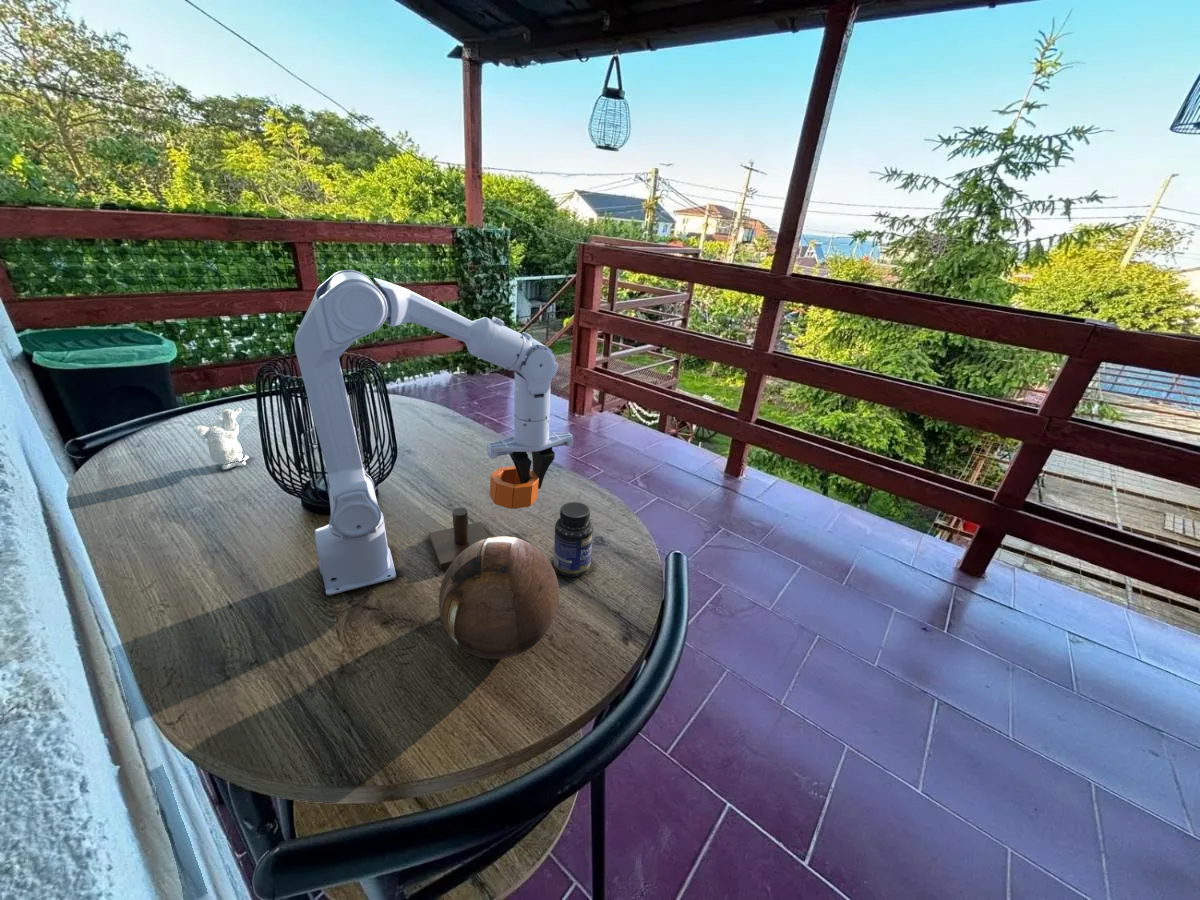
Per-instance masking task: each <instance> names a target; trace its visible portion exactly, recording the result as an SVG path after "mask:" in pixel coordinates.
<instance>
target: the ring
mask: <svg viewBox="0 0 1200 900" xmlns="http://www.w3.org/2000/svg"><path fill="white" fill-rule="evenodd" d="M538 484H539V477H538V476H537V475H536V474H535V473H534V471H533V469H530V472H529V481H528V482H527V483H523V484H520V479H519V475H518V472H517V469H516V467H515V465H511V466H502V467H498V468H497V469H496V470H494V471H492V473H491V474H490V481H489V497H490V499H491V500H492V502H493V504H494V505H496V506H499V507H503V508H507V509H510V510H512V509H513V510H516V509H517V510H518V509H523V508H529V507H531V506H533V504H534V503H535V502H536V501H537V499H538V493H539V489H538Z"/></svg>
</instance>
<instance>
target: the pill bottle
mask: <svg viewBox="0 0 1200 900" xmlns="http://www.w3.org/2000/svg"><path fill="white" fill-rule="evenodd" d="M590 518H591V509H590V507H589V505H587V504H585V503H582V502H578V501H569V502H566V503H564V504H562V505H561V507H560V509H559V518H558V519H557V520H556V522H555V525H554V542H553V544H554V545H553V546H554V547H553V568H554V570H555V571H557V572H558V573H559V574H560V575H562V576H565V577H569V578H570V577H571V578H575V577H580V576H583V575H585V574H587V572H588V571H589V570H590V568H591V561H592V549H593V537H594V536H593V535H594V524H593V522H592V521H591V519H590Z"/></svg>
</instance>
